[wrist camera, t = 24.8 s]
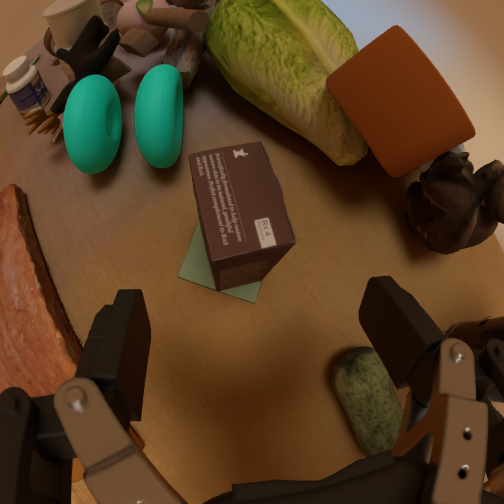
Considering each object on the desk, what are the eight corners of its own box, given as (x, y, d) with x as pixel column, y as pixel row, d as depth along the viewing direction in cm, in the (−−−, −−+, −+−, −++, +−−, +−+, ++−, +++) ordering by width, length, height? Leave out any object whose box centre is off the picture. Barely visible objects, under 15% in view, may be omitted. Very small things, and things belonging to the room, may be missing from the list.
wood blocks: (179, -16, 21) (231, -18, 18) (189, -4, 24) (242, -1, 20) (45, 135, 25) (59, 173, 21) (60, 142, 27) (79, 181, 24)
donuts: (105, 120, 28) (81, 58, 18) (186, 112, 29) (181, 43, 20) (87, 193, 25) (45, 136, 16) (180, 186, 26) (168, 117, 17)
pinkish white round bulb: (119, 38, 33) (110, -8, 23) (165, 25, 34) (163, -21, 25) (125, 63, 31) (114, 9, 21) (179, 48, 33) (177, -7, 23)
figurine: (140, 47, 24) (61, 141, 28) (100, 15, 19) (26, 112, 23) (125, 39, 16) (27, 173, 20) (72, -1, 11) (-18, 136, 15)
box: (197, 229, 25) (186, 150, 14) (245, 219, 26) (269, 137, 14) (212, 295, 24) (210, 262, 12) (263, 283, 25) (306, 240, 13)
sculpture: (457, 173, 28) (546, 181, 14) (437, 251, 31) (520, 291, 16) (396, 139, 27) (490, 123, 13) (373, 228, 30) (460, 267, 15)
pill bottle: (50, 106, 28) (28, 63, 19) (21, 124, 27) (-5, 85, 18) (50, 87, 29) (31, 47, 20) (23, 103, 28) (1, 66, 19)
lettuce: (366, 160, 35) (265, 204, 33) (285, 22, 32) (184, 45, 30) (443, 128, 21) (317, 178, 18) (319, -43, 18) (186, -35, 15)
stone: (171, 17, 30) (203, -23, 22) (198, 27, 33) (234, -9, 25) (140, 103, 30) (169, 63, 22) (174, 113, 33) (212, 78, 25)
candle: (114, 99, 29) (87, 3, 14) (69, 107, 28) (31, 23, 13) (126, 68, 31) (109, -19, 16) (83, 76, 30) (57, -3, 15)
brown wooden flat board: (60, 479, 16) (47, 491, 13) (-37, 247, 21) (-52, 239, 18) (147, 444, 20) (138, 458, 16) (26, 188, 24) (12, 175, 21)
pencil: (39, 56, 31) (-20, 128, 26) (38, 52, 30) (-23, 124, 25) (43, 55, 31) (-17, 128, 26) (41, 51, 30) (-20, 124, 25)
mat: (276, 232, 27) (277, 230, 26) (254, 303, 25) (255, 303, 24) (205, 208, 26) (205, 205, 26) (178, 277, 24) (177, 276, 24)
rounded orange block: (315, 78, 19) (398, 198, 19) (392, 17, 12) (487, 153, 13) (383, 87, 34) (425, 149, 35) (423, 60, 27) (468, 126, 28)
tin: (124, 23, 34) (118, -12, 26) (131, 27, 34) (125, -10, 26) (51, 62, 30) (37, 28, 22) (55, 68, 30) (40, 32, 22)
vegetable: (315, 362, 24) (337, 369, 19) (360, 336, 25) (389, 335, 20) (361, 468, 21) (385, 486, 16) (400, 441, 22) (427, 453, 17)
